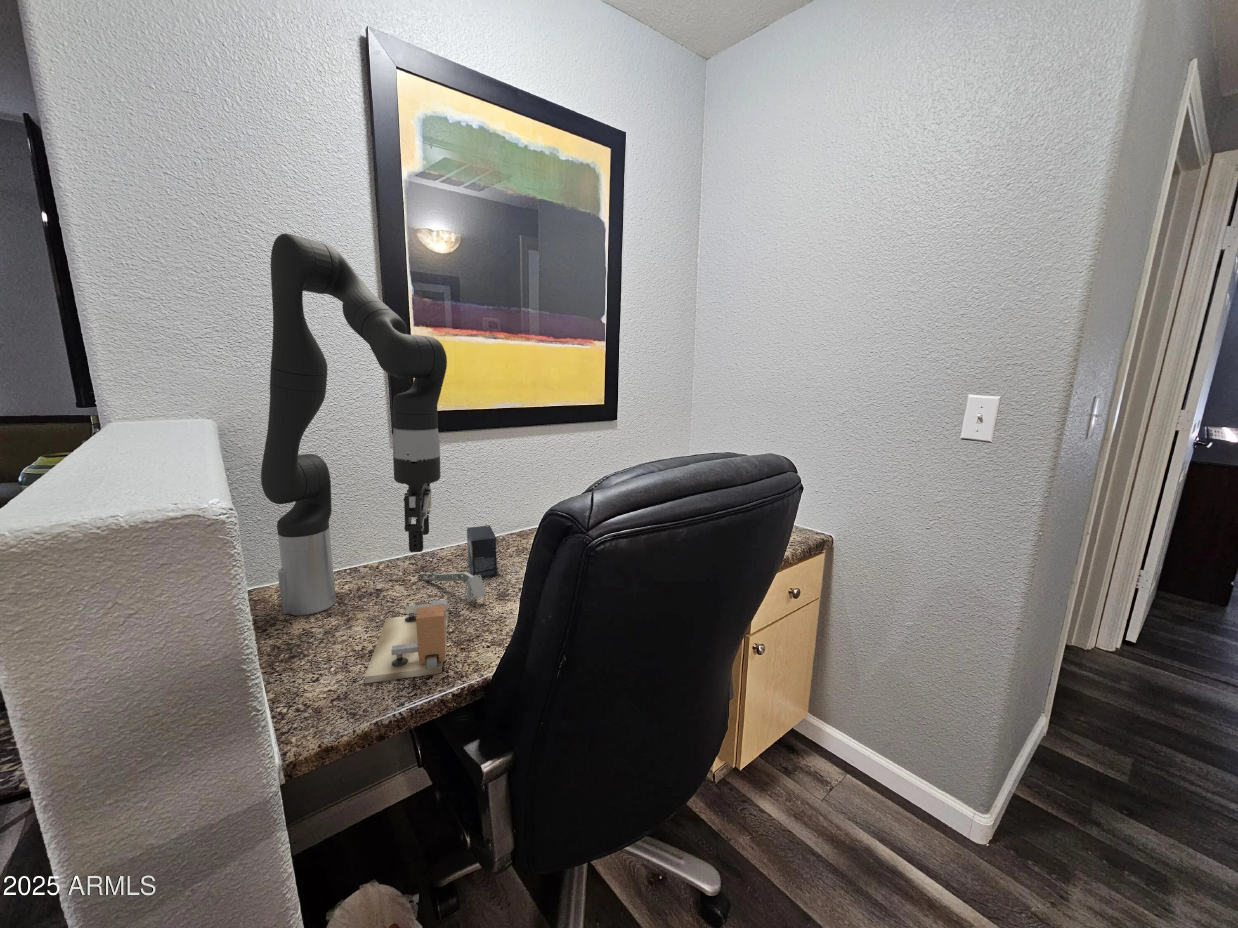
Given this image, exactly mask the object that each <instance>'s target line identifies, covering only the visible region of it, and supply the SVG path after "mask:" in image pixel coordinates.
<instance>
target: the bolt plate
mask: <svg viewBox="0 0 1238 928" xmlns="http://www.w3.org/2000/svg"><path fill="white" fill-rule="evenodd" d="M445 612H446V632H447V631H448V624H449V611H445ZM416 617H417V614H414V619H413V620H409V615H406V616H396V617H395V616H394V617H387V618H385V621H384V623H383V626H382V629H381V632H380V634H379V636H378V637H379V638H378V639H377V643H376V645H375V647H374V651H373V654H372V656H371V659H370V660H369V664H368V666H367V668H366V672H365V674H364V677H363V678H364V684H370V683H377V682H385V681H394V680H399V679H408V678H414V677H415V678H416V677H423V676H429V675H437V674H442V673H443V663H444V661H443V662H439V656H438V663H437V667H435V668H428V669H427V661H426V664H420V665H419V656H418V652H415V653H407V654H403V660H402V661H397V659H396V655H392V653H391V650H392V646H395V645H403V644H411V643H417V627H416ZM426 660H427V659H426Z"/></svg>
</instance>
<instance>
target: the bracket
mask: <svg viewBox="0 0 1238 928" xmlns="http://www.w3.org/2000/svg"><path fill="white" fill-rule="evenodd" d="M425 575H426V576H434V577H425ZM479 576H480V577H479ZM419 577H420V580H421V581H427V582H428V581H433V582H434V581H438V582H439V581H440V582H444V581H445V582H447V581H448V582H450V581H451V582H452V581H454V582H463V583H465V589H464V595H463V596H464V597H463V598H464V601H465V602H466V603H470V602H472V601H473V600H478V599H480V598H482V597H484V596H486V595H487V591H486V587H485V584H484V581H483V578H481V575H477V576H476V575H474V576H473V575H472V573H469V572H467V571H466V572H449V573H437V572H436V571H433V572H423V571H422V572H419Z"/></svg>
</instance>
